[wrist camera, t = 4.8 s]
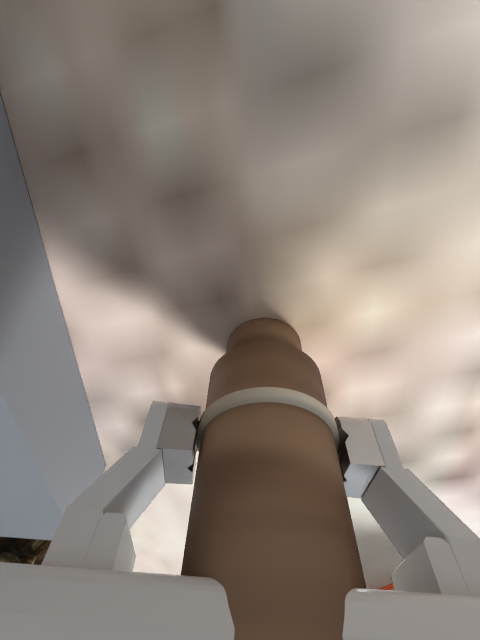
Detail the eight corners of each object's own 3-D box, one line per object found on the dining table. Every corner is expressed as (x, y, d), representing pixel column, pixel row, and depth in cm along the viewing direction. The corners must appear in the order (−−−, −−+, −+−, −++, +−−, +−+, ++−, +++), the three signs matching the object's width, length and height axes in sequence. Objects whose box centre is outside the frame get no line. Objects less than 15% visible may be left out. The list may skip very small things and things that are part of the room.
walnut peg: (305, 387, 15) (362, 746, 7) (210, 379, 15) (157, 733, 7) (328, 309, 13) (457, 731, 5) (213, 299, 12) (137, 710, 4)
